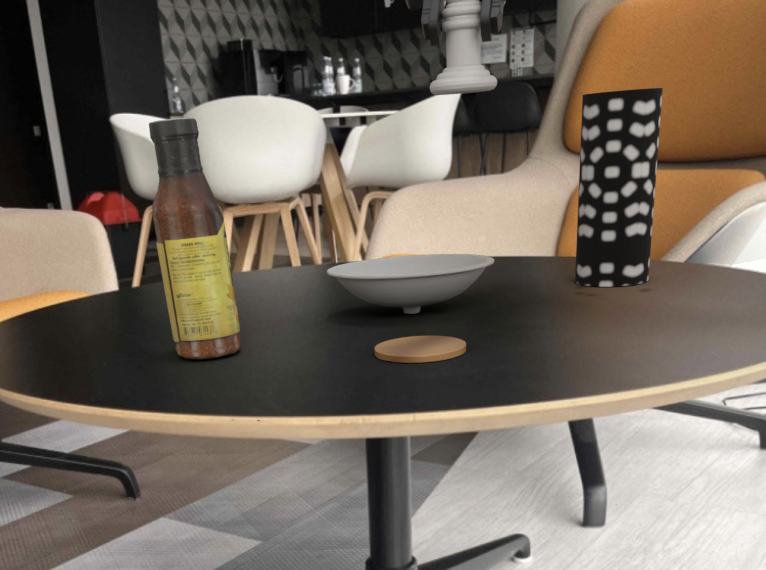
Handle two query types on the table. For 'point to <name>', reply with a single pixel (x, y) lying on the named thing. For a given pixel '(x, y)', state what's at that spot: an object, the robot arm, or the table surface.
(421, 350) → the cork coaster
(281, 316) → the table surface
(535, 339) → the table surface
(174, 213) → the sauce bottle
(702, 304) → the table surface
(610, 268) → the spotted tube
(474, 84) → the chess piece
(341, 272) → the dish
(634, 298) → the table surface
